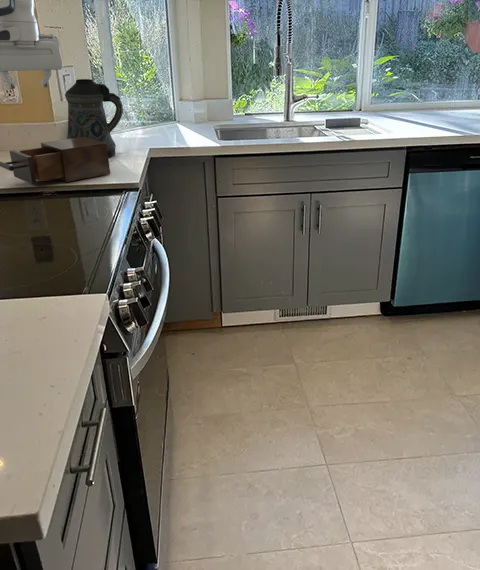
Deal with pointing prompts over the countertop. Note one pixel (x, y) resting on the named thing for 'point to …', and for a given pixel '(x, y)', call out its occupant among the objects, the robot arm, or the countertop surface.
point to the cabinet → (81, 157)
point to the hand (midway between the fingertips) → (28, 88)
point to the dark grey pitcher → (92, 112)
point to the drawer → (45, 164)
